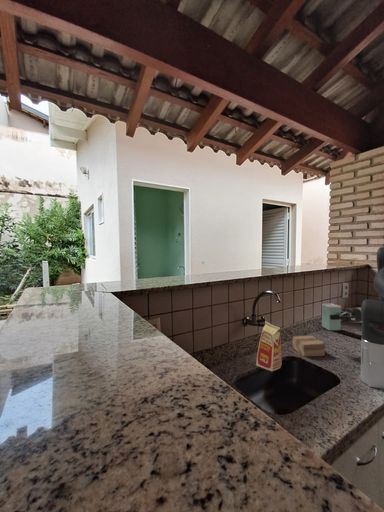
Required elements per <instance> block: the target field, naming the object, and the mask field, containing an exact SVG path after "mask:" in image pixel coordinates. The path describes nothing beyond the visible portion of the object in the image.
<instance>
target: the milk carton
mask: <svg viewBox="0 0 384 512" xmlns="http://www.w3.org/2000/svg"><path fill="white" fill-rule="evenodd" d="M280 329H281V327H279V326H276V325H273V324H272V323H269V322H268V321H265V325H264V326H263V327H262V331H261V334H260V339H259V344H258V349H257V353H256V361H255V366H257V367H259V368H262V369H265V370H266V371H270V372H275V371H277V370H279V369H281V366H282V362H283V361H282V344H281V332H280Z"/></svg>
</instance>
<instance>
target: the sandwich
mask: <svg viewBox="0 0 384 512" xmlns="http://www.w3.org/2000/svg"><path fill="white" fill-rule="evenodd" d="M292 348H293V349H294V350H295V351H297V353H299V354H300V355H301V356H303V357H320V356H323V357H325V356H326V354H325V353H326V351H325V350H326V344H325V342H323V341H321V340H320V339H318V338H316V337H315V336H314V335H294V336H292Z"/></svg>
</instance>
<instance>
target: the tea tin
mask: <svg viewBox="0 0 384 512" xmlns="http://www.w3.org/2000/svg"><path fill="white" fill-rule="evenodd" d="M341 311H342V306H341V305H338V304H336V303H334V302H333V303H322V304H321V327H323V328H325V329H326V330H328V331H341V328H342V325H341V324H342V323H341V321H342V320H331V315H338V316H339V315H341Z"/></svg>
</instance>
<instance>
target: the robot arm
mask: <svg viewBox="0 0 384 512" xmlns="http://www.w3.org/2000/svg"><path fill="white" fill-rule="evenodd" d="M376 268H377V272H376V273H375V276H374V278H373V279H374V280H373V284H372V285H373V287H374V289H375V291H376V292H377V294H378V300H376V299H370V298H369V299H364V300H363V301H362V302H361V307H347V308H345V310H341V315H339V316H338V315H331V320H341V321H342V322H347V323H352V324H355V323H356V324H357V323H361V340H360V341H361V345H360V346H361V348H360V381H362V382H363V383H364V384H365V385H368V387H370V388H376V389H381V390H384V331H383V330H381V329H379V328H378V327H376V325H382V326H384V246H380V247H378V249H377V252H376ZM374 324H376V325H374Z"/></svg>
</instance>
